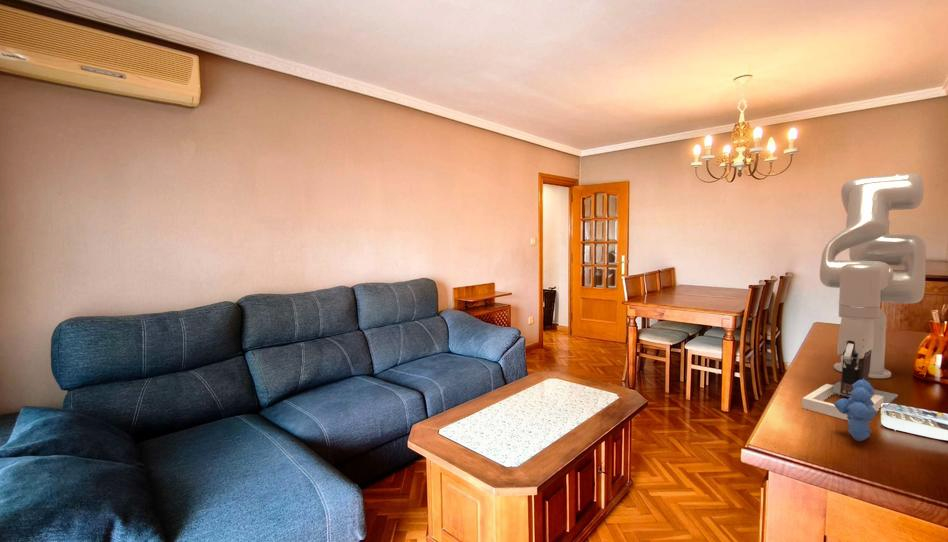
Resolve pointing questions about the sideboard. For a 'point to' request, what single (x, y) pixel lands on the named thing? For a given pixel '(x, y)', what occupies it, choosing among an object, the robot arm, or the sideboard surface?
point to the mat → (887, 396)
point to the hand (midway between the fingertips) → (855, 380)
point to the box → (864, 373)
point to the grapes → (858, 409)
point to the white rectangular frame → (817, 403)
